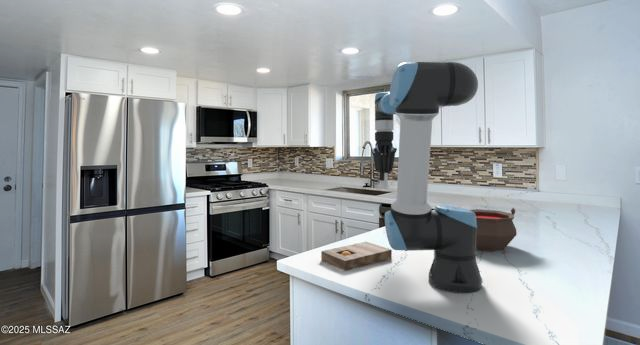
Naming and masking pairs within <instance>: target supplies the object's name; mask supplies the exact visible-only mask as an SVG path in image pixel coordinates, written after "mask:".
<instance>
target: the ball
mask: <svg viewBox="0 0 640 345" xmlns="http://www.w3.org/2000/svg"><path fill="white" fill-rule="evenodd" d="M341 255H343V256H347V255H351V253H350V252H348V251H344V252H342V254H341Z"/></svg>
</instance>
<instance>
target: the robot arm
mask: <svg viewBox="0 0 640 345" xmlns="http://www.w3.org/2000/svg"><path fill="white" fill-rule="evenodd" d="M478 81H479V80H478V77H477V75H476V73H475V72H474V70H473V69H471V67H469V66H467V65H466V64H463V63H461V62H455V61H448V62H447V61H446V62H444V61H443V62H442V61H438V62H434V61H412V62H402V63H400V64H399V65H397V67H396V68H395V70H394V73H393V74H392V78H391V82H390V87H389V92H388V91H386V92H385V91H382V92H381V91H380V92H377V93H376V94H375V96H374V131H375V132H374V141H375V144H374V145H375V146H374V147H373V148H370V151H371V154H372V157H373V158H372V160H373V164H374V169H375V172H377V173H379V181H380V184H379V186H380V189H384V190H386V189H388V187H389V185H388V184H389V182H388V181H389V179H390V178H389V174H391V171H393V170H394V162H395V157H396V153H397V151H398V161H397V162H398V165H397V182H396V183H397V184H396V185H397V188H396V200H394V201H393V202H392V203H391V205H390V210H387V211H386V212H385V213H384V227H385V232H386V233H385V234H386V238H387V242H388V244H389V246H390V247H391V248H390V249H391V250H395V251H405V252H408V251H434V250H435V257H434V256H433V260H432V264H431V265H430V269H429V271H428V283H429V284H430V285H431V286H433V287H434V288H437V289H439V290H442V291H447V292H452V293H463V294H464V293H466V294H467V293H475V292H478V291H479V290H481V289H482V288H483V282H482V281H483V279H482V275H481V273H480V272H481V271H480V269H479V265H478V263H477V249H476V234H477V222H476V215H475V213H474V212H472V211H470V210H471V209H468V208H463V207H460V206H459V207H457V206H453V205H442V204H439V205H436V206H435V207H434V210H432V206H431V205H430V204H429V202H427V201H428V187H429V174H430V161H431V160H430V158H431V145H432V142H431V141H432V133H433V132H432V130H433V129H432V128H433V120H434V119H435V118H436V117H437V116H438V115H439V113H440V111H439V110H440V109H442V108H444V107H456V106H457V107H458V106H462V105H465V104H467V103H469V102H470V101H472V99H473V98H474V97H475V95H476V94H477V92H478V88H479V82H478ZM394 115H396V116H397V117H398V118H399V119H400V121H399V122H400V123H399V139H398V140H399V142H398V143H399V144H398V149H397V147H395V146H394V145H393V141H394Z"/></svg>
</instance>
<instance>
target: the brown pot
mask: <svg viewBox="0 0 640 345" xmlns="http://www.w3.org/2000/svg"><path fill="white" fill-rule="evenodd" d="M469 210H470V211H472V212H474V213H475V215H476V222H477V234H476V251H477V250H478V251H484V252H485V251H486V252H497V251H498V252H499V251H504V250H505V249H506V248H507V246H508V245H509V244H510V243H512V241H513V239H514V238H515V237H516V236H517V228H516V226H515V223H514V219H515V213H516V209H515V207H512V208H511V210H510V212H506V211H502V210H497V209H496V210H495V209H494V210H493V209H480V208H479V209H478V208H476V209H469Z"/></svg>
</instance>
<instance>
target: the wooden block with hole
mask: <svg viewBox="0 0 640 345" xmlns="http://www.w3.org/2000/svg"><path fill="white" fill-rule="evenodd" d="M392 250H393V249H392V248H387V247H385V246H382V245H381V246H380V245H378V244H375V243H371V242H368V241H363V242H359V243H358V242H357V243H354V244H349V245H348V244H347V245H344V246H339V247H335V248H330V249H325V250H321V252H320V253H321V256H320V258H321V260H320V261H322V262H324V263H327V264H328V265H329V266H330V265H331V266H333V267H335V268H338V269H340V270H343V271H344V272H346V271H351V270H355V269H358V268H362V267H363V268H364V267H366V266H370V265H373V264H377V263H382V262H385V261H388V260H392V259H393V258H392V253H393V252H392ZM344 251H348V252H350V253H351V255H347V256H343V255H341V254H342V252H344Z"/></svg>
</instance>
